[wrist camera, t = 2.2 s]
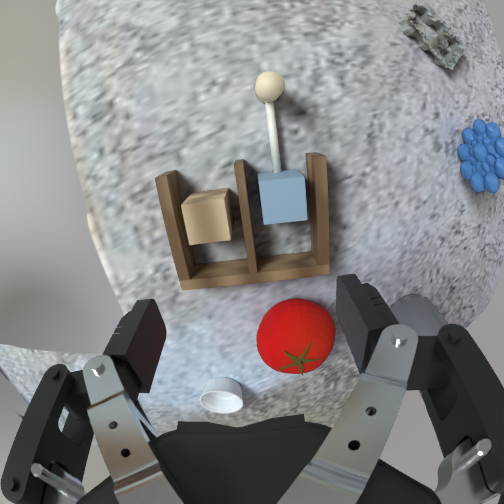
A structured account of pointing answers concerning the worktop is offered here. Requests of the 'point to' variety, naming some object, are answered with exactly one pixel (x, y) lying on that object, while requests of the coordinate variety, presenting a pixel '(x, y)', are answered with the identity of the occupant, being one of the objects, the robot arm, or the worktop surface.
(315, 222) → the lane rack
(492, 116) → the worktop surface
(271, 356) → the tomato
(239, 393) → the ramekin
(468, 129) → the grapes
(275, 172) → the tethered block
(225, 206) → the plain oak block
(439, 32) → the egg carton
